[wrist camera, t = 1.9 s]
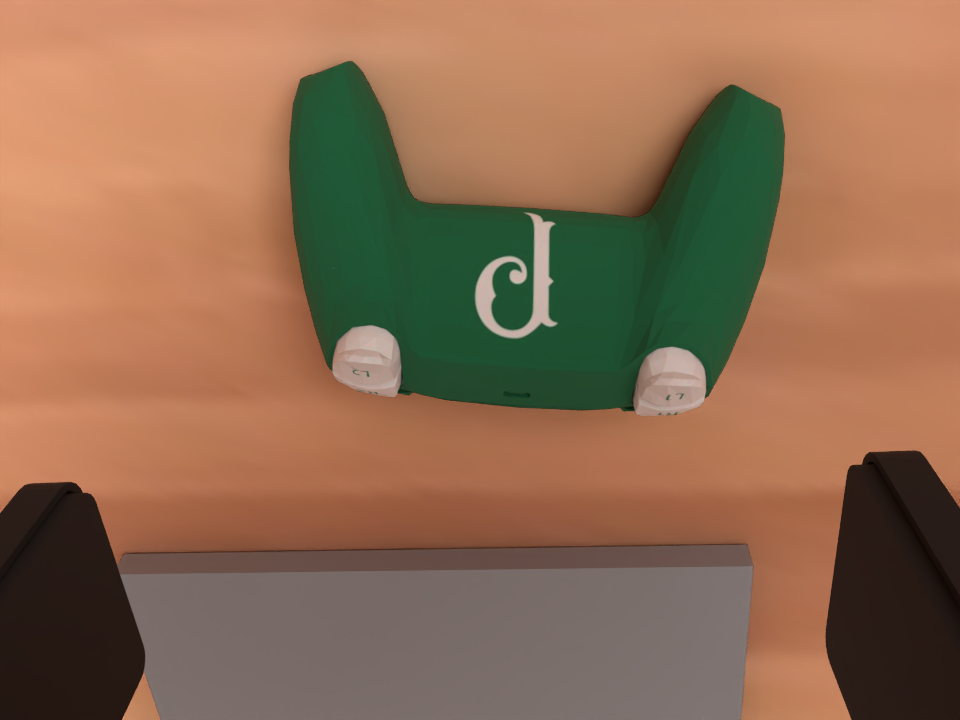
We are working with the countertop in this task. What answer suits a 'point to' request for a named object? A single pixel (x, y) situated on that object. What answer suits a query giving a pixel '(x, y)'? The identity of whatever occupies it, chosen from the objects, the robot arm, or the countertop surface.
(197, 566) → the slate mat
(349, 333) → the gaming controller
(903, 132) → the countertop surface
